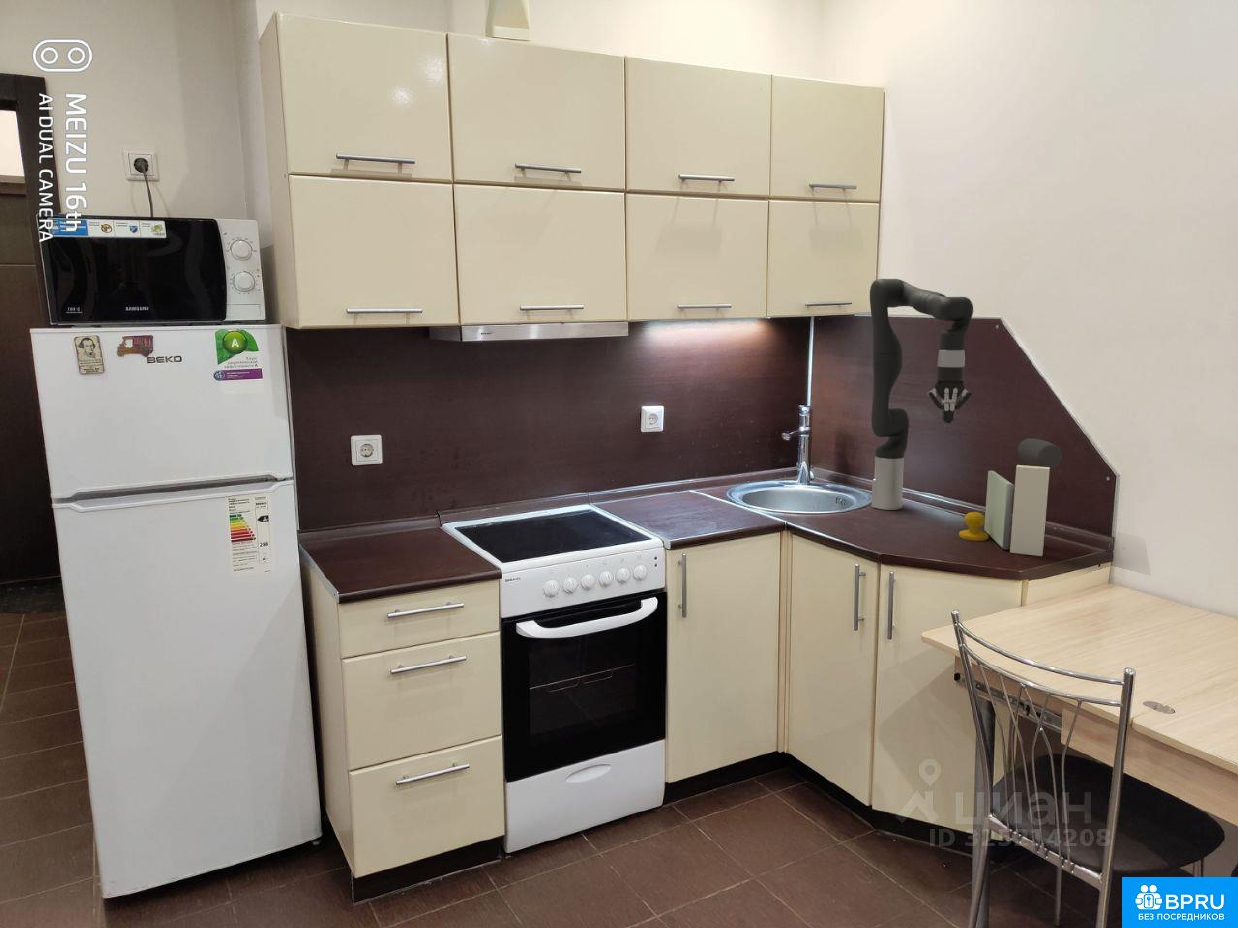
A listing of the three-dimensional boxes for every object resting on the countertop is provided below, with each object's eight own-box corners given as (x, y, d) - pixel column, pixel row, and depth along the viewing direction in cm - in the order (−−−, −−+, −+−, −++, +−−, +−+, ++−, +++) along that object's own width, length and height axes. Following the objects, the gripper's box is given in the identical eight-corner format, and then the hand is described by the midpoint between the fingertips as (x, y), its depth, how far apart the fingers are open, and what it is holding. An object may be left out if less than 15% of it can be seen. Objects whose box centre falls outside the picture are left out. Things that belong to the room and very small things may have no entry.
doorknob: (985, 534, 262) (990, 541, 254) (956, 533, 264) (961, 540, 256) (987, 509, 261) (992, 516, 253) (958, 508, 262) (962, 515, 255)
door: (983, 529, 264) (987, 470, 261) (990, 529, 264) (994, 470, 261) (1003, 549, 244) (1008, 485, 241) (1010, 549, 244) (1015, 485, 240)
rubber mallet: (1008, 538, 257) (1016, 436, 251) (1033, 538, 257) (1042, 436, 251) (1030, 550, 244) (1038, 443, 239) (1056, 550, 245) (1065, 443, 239)
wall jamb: (1009, 552, 243) (1016, 466, 239) (1010, 549, 246) (1017, 464, 241) (1042, 556, 239) (1049, 469, 235) (1042, 553, 242) (1049, 467, 237)
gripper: (971, 364, 265) (967, 421, 268) (925, 364, 267) (922, 421, 270) (977, 366, 258) (973, 425, 261) (930, 366, 260) (927, 424, 263)
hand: (947, 422), depth 266 cm, fingers closed
